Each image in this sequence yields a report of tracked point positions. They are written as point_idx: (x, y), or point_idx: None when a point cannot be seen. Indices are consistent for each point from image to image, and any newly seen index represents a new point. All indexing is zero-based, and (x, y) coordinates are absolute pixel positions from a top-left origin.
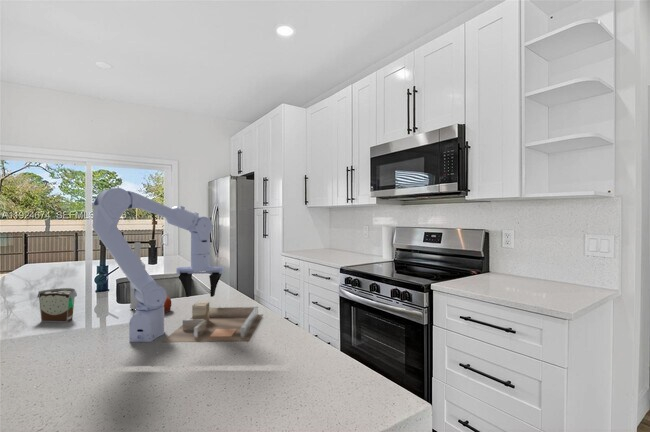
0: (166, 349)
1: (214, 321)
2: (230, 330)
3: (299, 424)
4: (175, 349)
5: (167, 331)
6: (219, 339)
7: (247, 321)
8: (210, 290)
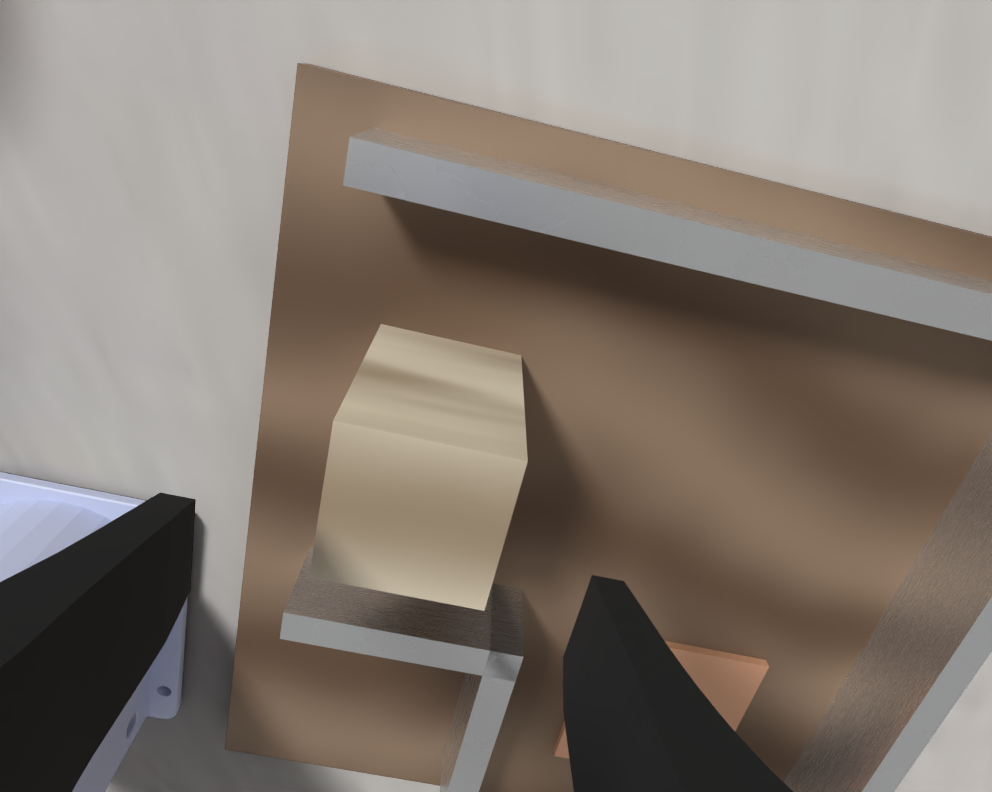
0: (291, 778)
1: (578, 404)
2: (717, 687)
3: None
4: (349, 789)
5: (154, 469)
6: None
7: (887, 788)
8: (572, 775)
